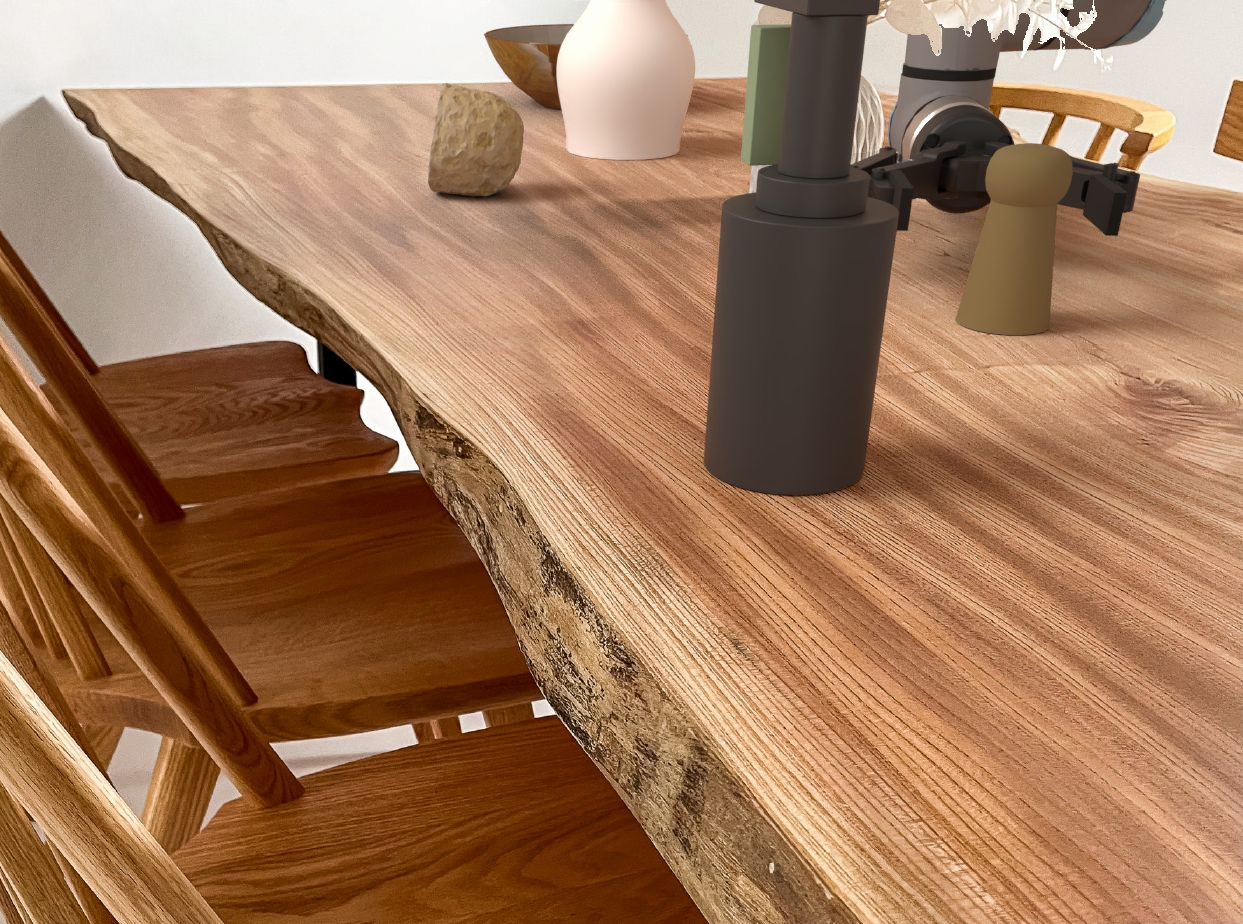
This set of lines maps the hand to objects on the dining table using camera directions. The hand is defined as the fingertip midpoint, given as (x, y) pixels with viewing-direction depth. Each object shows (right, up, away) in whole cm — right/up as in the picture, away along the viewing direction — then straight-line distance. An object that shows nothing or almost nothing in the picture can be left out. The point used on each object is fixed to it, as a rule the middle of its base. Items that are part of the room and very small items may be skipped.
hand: (1010, 212), depth 92 cm
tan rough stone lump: (-37, +14, +36) cm, 53 cm away
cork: (0, -7, +1) cm, 7 cm away
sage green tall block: (-20, -6, -24) cm, 32 cm away
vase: (-22, +27, +56) cm, 66 cm away
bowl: (-25, +44, +85) cm, 98 cm away
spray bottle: (-19, -20, -20) cm, 34 cm away
